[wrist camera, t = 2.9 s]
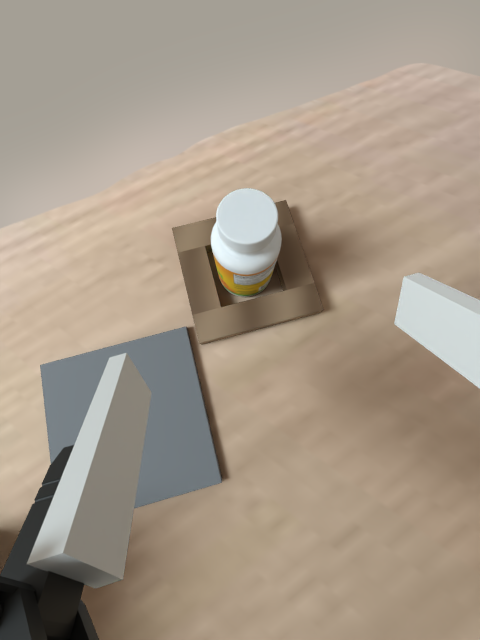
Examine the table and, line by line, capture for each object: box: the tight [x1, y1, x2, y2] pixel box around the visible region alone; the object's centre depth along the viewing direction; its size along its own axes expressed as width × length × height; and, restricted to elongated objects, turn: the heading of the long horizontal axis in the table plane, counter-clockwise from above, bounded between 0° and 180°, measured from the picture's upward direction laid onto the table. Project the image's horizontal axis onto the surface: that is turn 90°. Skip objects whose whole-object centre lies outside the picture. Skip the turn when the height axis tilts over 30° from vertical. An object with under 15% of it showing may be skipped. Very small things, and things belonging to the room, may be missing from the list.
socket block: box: [172, 200, 324, 344], centre depth 24 cm, size 12×12×1 cm
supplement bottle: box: [211, 188, 282, 297], centre depth 20 cm, size 5×5×10 cm
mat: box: [40, 327, 222, 508], centre depth 22 cm, size 14×14×1 cm
